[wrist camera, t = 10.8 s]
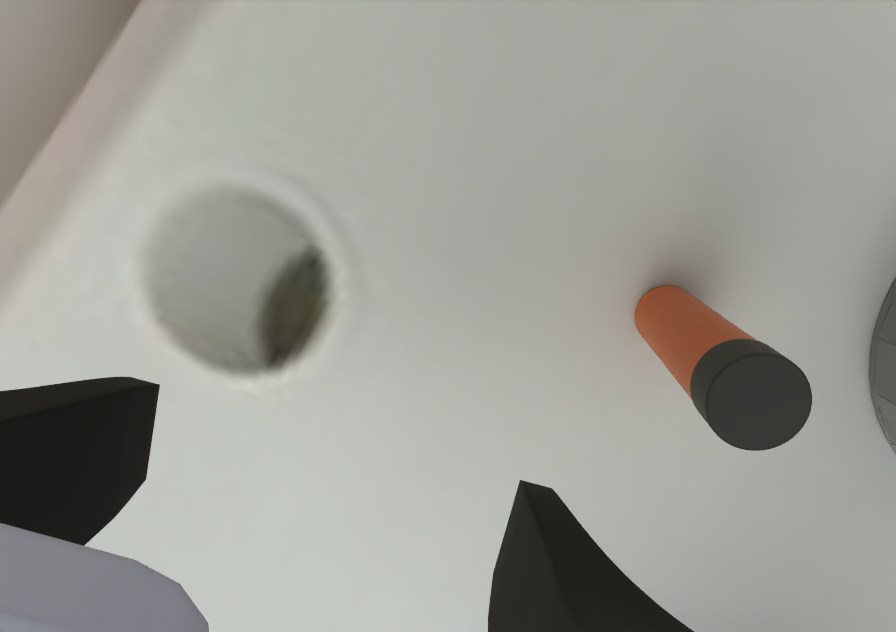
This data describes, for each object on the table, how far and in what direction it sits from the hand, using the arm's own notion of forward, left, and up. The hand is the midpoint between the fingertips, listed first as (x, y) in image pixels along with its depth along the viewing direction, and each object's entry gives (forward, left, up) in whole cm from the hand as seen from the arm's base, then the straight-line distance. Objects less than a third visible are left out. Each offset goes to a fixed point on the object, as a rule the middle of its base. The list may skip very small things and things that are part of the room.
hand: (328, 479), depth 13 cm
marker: (+3, -8, -10) cm, 13 cm away
